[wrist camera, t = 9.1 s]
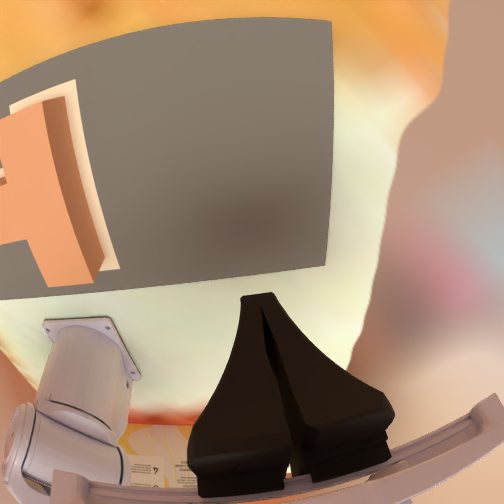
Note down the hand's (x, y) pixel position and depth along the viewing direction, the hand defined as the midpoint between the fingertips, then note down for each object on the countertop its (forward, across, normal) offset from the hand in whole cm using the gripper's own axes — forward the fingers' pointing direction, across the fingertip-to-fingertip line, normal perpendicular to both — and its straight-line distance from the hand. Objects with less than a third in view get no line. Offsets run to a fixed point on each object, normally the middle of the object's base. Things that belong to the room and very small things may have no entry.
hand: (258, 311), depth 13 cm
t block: (+9, +16, -4) cm, 19 cm away
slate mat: (+9, +9, -4) cm, 14 cm away
